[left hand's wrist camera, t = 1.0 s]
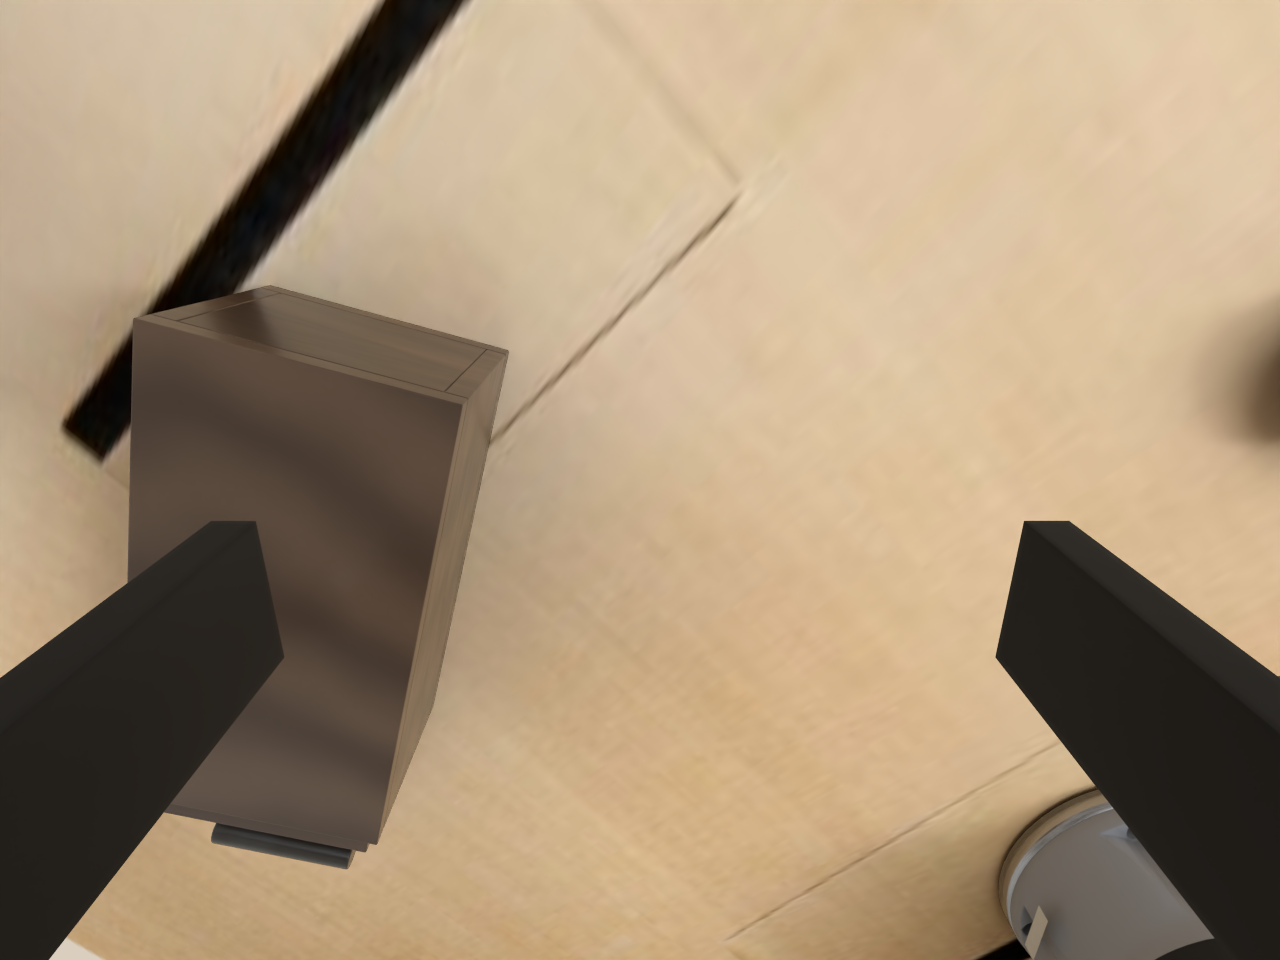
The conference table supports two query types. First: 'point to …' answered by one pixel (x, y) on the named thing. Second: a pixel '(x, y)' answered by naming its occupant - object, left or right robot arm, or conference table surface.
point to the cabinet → (317, 528)
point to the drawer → (275, 838)
